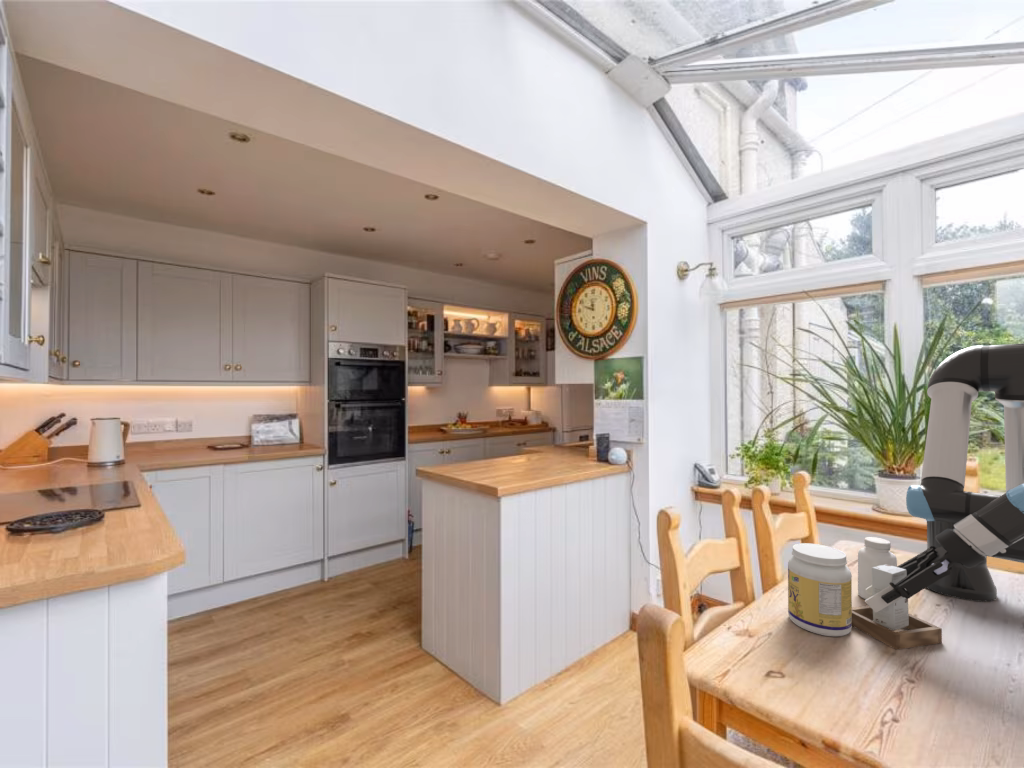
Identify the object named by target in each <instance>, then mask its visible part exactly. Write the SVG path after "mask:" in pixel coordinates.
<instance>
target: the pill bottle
mask: <svg viewBox="0 0 1024 768" xmlns="http://www.w3.org/2000/svg"><path fill="white" fill-rule="evenodd" d="M863 543H864V545H863V546H864V547H861V548H859V550H858V552H857V592H858V593H857V595H859V597H860V598H861V599H864V600H866V599H868V598H870V597H871V595H870V594H869V593H868V592H867V591H866V588H868V587H869V586H871V585H872V568H873V567H877V566H880V565H886V564H887V565H891V566H895V567H897V566H898V559H897V556H896V554H894V553H893V552H892V551H891V547H892V545H891V542H890V540H888V539H885V538H881V537H876V536H866V537H864V541H863Z"/></svg>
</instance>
